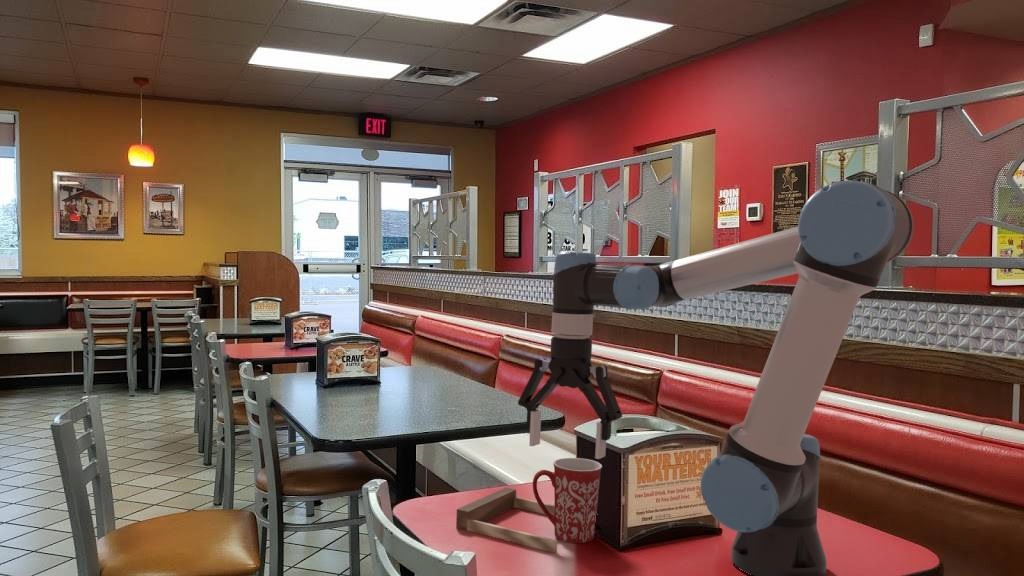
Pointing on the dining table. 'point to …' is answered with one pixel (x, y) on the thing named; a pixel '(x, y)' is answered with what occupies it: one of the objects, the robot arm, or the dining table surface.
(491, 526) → the channel
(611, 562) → the dining table surface
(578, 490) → the mug
